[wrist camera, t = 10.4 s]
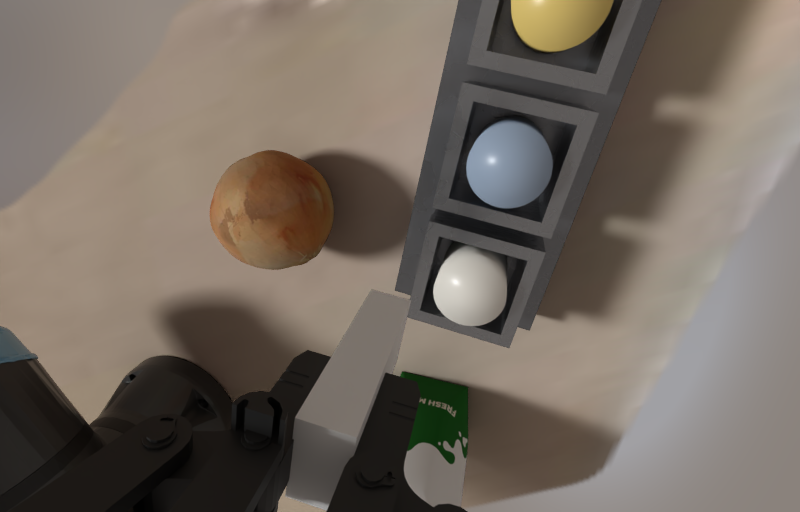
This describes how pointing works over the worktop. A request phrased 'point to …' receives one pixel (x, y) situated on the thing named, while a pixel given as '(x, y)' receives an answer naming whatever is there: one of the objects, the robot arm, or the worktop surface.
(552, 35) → the mustard button
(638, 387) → the worktop surface
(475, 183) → the slate button
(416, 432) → the milk carton
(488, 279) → the cream button
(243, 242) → the onion
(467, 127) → the grey frame
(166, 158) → the worktop surface
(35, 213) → the worktop surface
